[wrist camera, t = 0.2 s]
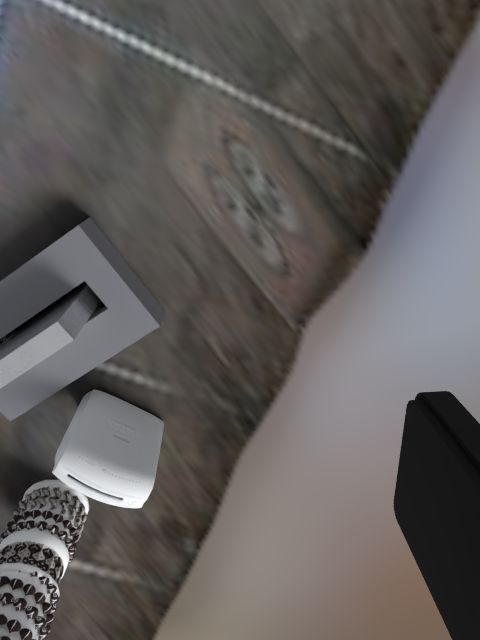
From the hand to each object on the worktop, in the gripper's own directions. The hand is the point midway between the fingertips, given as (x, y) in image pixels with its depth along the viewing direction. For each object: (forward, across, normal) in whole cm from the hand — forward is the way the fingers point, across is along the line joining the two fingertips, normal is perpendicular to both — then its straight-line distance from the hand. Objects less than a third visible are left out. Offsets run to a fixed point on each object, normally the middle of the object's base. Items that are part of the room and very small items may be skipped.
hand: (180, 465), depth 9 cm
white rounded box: (+37, +12, +24) cm, 46 cm away
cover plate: (+37, +17, +11) cm, 43 cm away
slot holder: (+37, +17, +11) cm, 42 cm away
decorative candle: (+38, +22, +38) cm, 58 cm away
